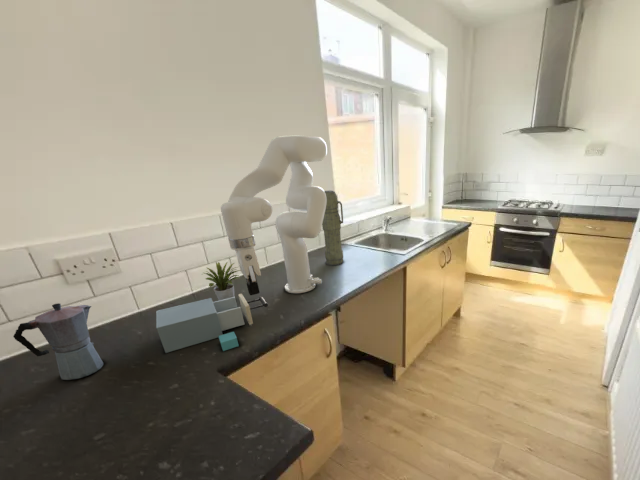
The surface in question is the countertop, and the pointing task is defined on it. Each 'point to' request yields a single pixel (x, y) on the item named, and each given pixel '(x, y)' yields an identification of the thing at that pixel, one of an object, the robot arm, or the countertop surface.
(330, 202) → the thermos
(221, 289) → the house plant
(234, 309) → the drawer
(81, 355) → the moka pot
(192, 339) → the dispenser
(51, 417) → the countertop surface
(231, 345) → the teal block
